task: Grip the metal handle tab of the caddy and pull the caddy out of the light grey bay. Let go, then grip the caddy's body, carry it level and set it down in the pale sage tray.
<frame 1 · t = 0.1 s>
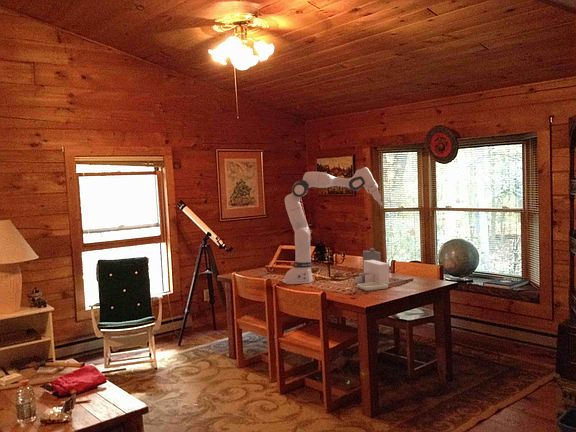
hand: (381, 204, 385), 54 cm above the table, tool tilted 30°, fingers open, 8 cm apart
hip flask: (372, 274, 413), on the table
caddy: (365, 283, 382), on the table
sage tray: (372, 288, 366), on the table
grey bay: (365, 282, 382), on the table
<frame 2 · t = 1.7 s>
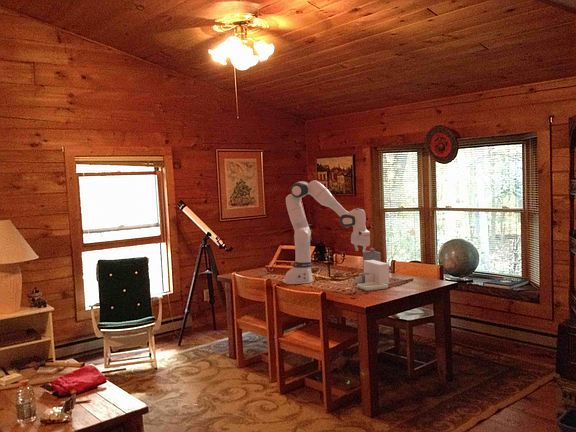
hand: (360, 251, 378), 23 cm above the table, tool pointing down, fingers open, 8 cm apart
nothing on the table moved.
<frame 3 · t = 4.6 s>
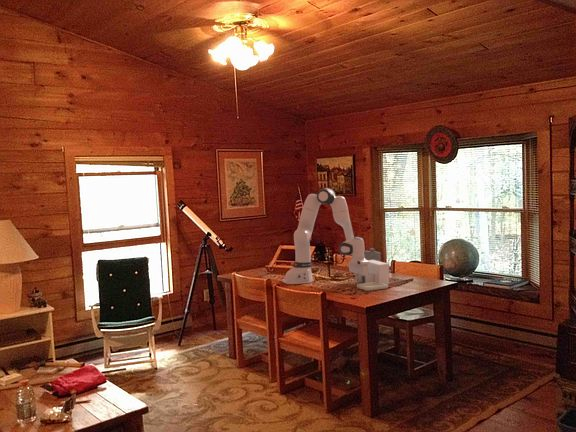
hand: (358, 280, 379), 3 cm above the table, tool pointing down, fingers closed on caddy
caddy: (365, 283, 382), on the table, touching gripper
everything else where it was.
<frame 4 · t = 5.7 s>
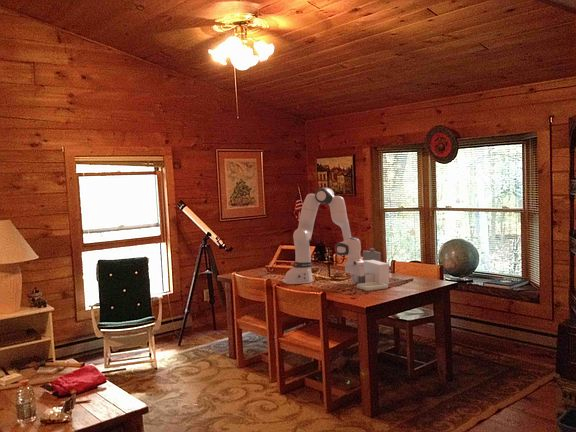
hand: (354, 280, 378), 2 cm above the table, tool pointing down, fingers closed on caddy
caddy: (362, 283, 381), on the table, touching gripper
everything else where it was.
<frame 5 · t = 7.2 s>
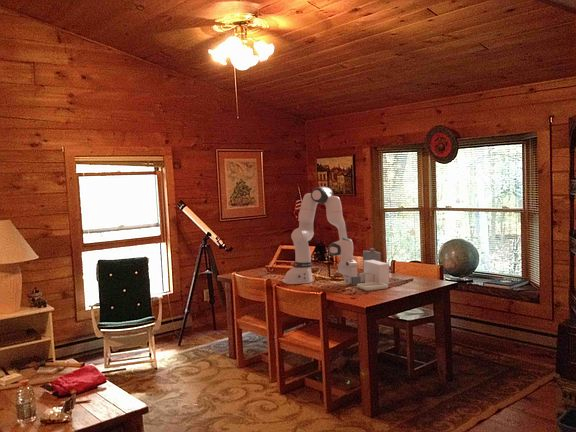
hand: (347, 281, 376), 3 cm above the table, tool pointing down, fingers closed
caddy: (354, 284, 379), on the table
everything else where it was.
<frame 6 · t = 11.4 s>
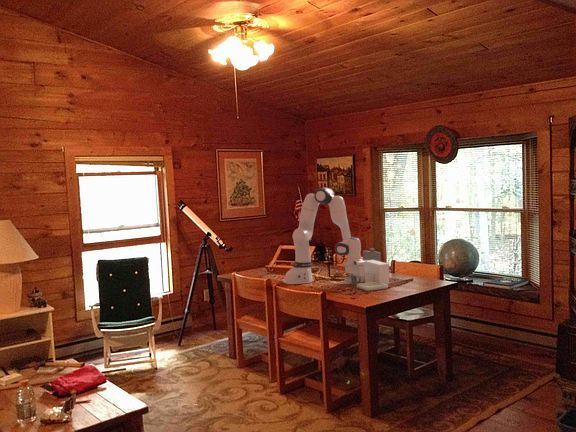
hand: (354, 280, 378), 3 cm above the table, tool pointing down, fingers closed on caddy, 5 cm apart
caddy: (355, 284, 379), on the table, touching gripper
everything else where it was.
when the fingers open (4 cm above the table, at t = 18.7 s): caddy stays where it is, resting on sage tray.
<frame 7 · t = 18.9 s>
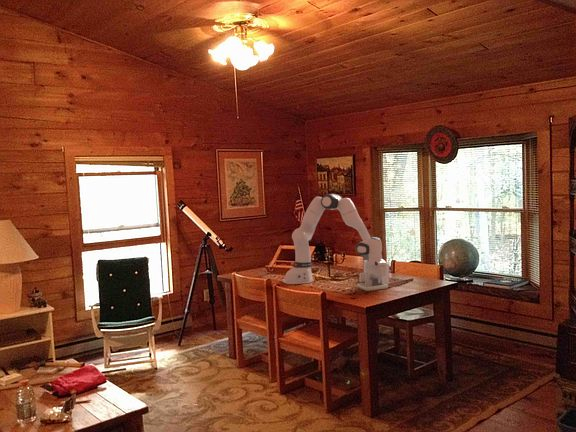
hand: (375, 281, 366), 4 cm above the table, tool pointing down, fingers open, 7 cm apart
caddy: (375, 286, 367), point 1 cm above the table, touching sage tray
everything else where it was.
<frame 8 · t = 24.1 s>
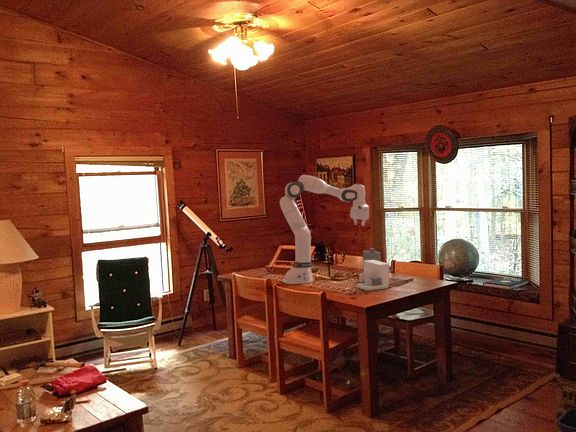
hand: (359, 225, 395), 39 cm above the table, tool pointing down, fingers open, 8 cm apart
nothing on the table moved.
at the end: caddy 0.2 cm from the target spot on the sage tray, point 0.8 cm above the sage tray's base; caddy tilted 0°; the gripper is holding nothing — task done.
